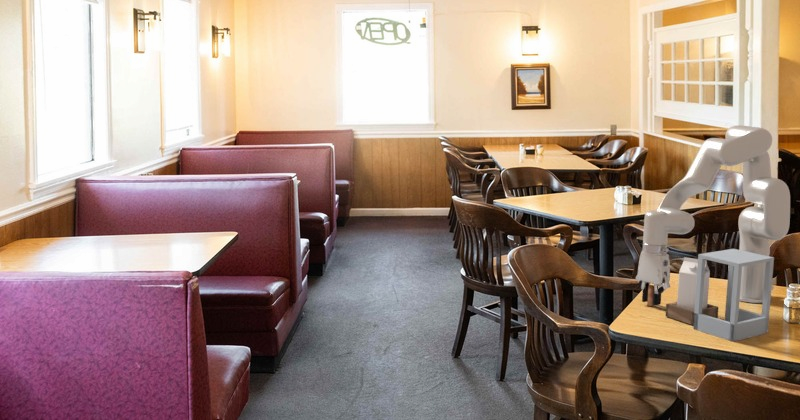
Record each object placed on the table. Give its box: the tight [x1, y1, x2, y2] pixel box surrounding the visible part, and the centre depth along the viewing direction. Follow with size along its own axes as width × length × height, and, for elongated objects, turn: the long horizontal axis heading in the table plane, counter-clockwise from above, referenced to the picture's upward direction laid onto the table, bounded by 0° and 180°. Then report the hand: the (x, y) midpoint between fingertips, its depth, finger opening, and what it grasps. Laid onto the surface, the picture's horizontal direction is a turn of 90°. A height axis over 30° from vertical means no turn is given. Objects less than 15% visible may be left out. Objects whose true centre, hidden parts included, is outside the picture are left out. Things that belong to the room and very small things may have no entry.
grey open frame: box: [692, 248, 775, 342], centre depth 252 cm, size 16×14×23 cm
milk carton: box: [676, 256, 711, 311], centre depth 264 cm, size 7×7×19 cm
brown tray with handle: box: [646, 284, 719, 326], centre depth 270 cm, size 12×23×6 cm, turn 32°
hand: (651, 302), depth 279 cm, fingers open, 3 cm apart
